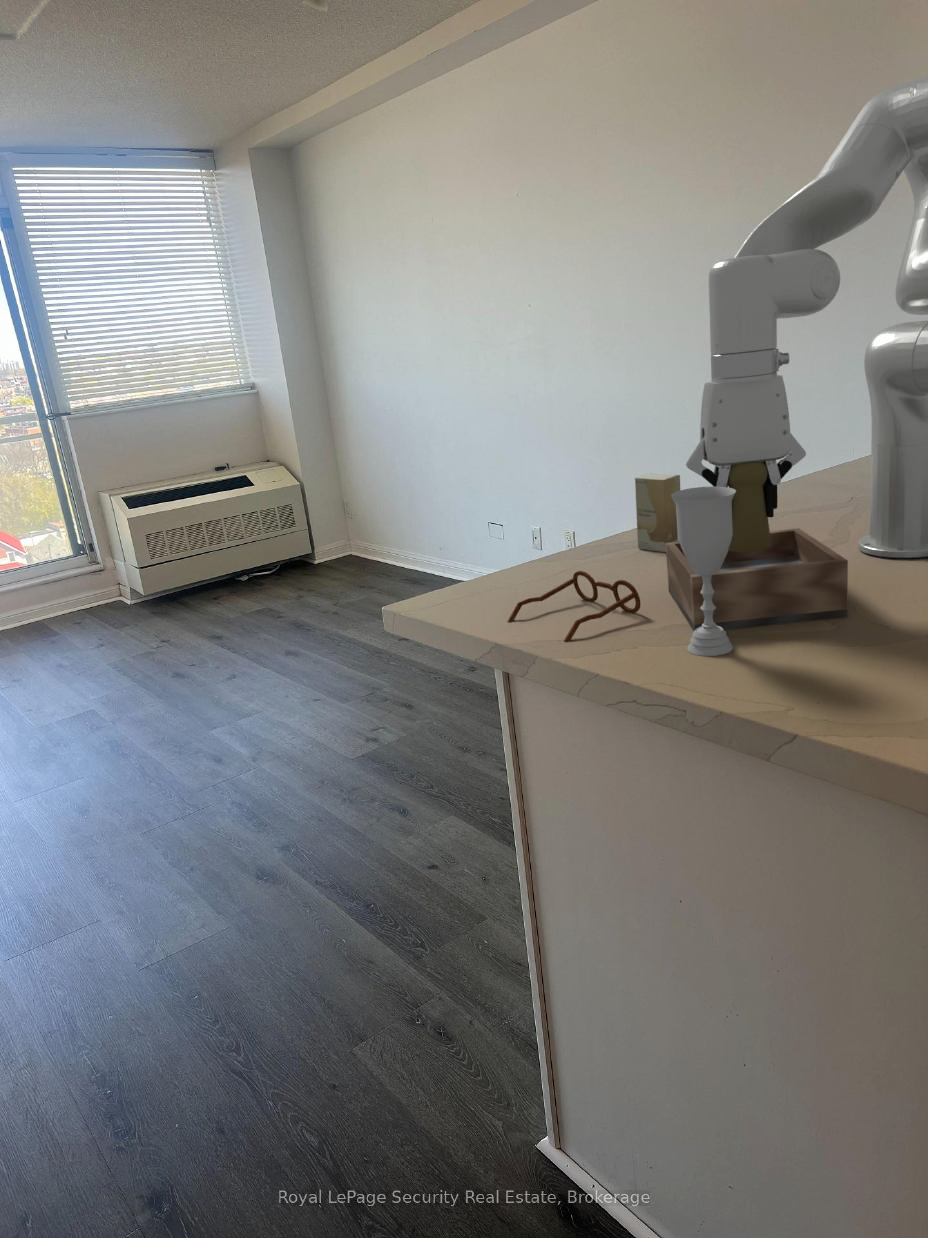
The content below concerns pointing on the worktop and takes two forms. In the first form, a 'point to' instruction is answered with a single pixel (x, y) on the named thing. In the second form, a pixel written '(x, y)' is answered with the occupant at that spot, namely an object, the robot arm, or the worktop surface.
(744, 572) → the wooden box
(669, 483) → the skincare box
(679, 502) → the chalice
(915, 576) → the worktop surface
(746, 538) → the cork
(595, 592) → the glasses
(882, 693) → the worktop surface
